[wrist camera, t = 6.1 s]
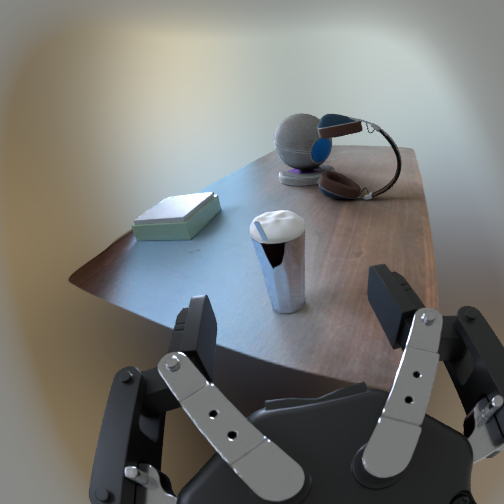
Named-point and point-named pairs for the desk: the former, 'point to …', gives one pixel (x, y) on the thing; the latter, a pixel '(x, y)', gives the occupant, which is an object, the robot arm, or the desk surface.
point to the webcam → (302, 149)
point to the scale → (177, 217)
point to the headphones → (335, 182)
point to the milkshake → (281, 257)
